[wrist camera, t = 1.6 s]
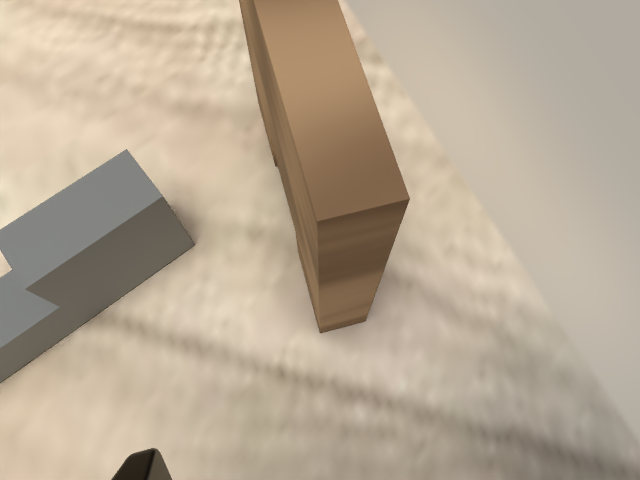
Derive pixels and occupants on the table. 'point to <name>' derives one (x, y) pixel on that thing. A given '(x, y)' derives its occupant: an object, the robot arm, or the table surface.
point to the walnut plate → (326, 151)
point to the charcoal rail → (81, 256)
